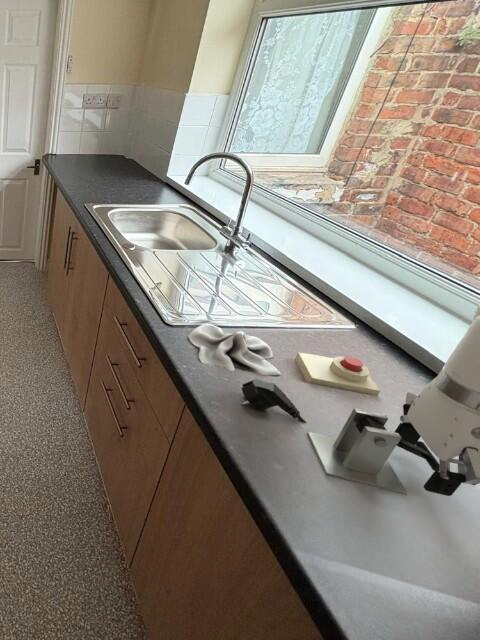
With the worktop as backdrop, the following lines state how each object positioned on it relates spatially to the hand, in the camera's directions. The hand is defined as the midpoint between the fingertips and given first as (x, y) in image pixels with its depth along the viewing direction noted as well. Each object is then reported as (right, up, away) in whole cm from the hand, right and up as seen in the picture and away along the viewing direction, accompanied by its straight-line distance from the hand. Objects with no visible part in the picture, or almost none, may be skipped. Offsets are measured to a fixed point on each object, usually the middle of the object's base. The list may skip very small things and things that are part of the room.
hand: (418, 465), depth 70 cm
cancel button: (+8, +11, +21) cm, 25 cm away
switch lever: (-5, +3, 0) cm, 6 cm away
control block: (+6, +8, +23) cm, 25 cm away
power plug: (-14, +3, +15) cm, 21 cm away
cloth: (-12, +11, +30) cm, 35 cm away
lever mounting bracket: (-8, -2, +4) cm, 9 cm away
